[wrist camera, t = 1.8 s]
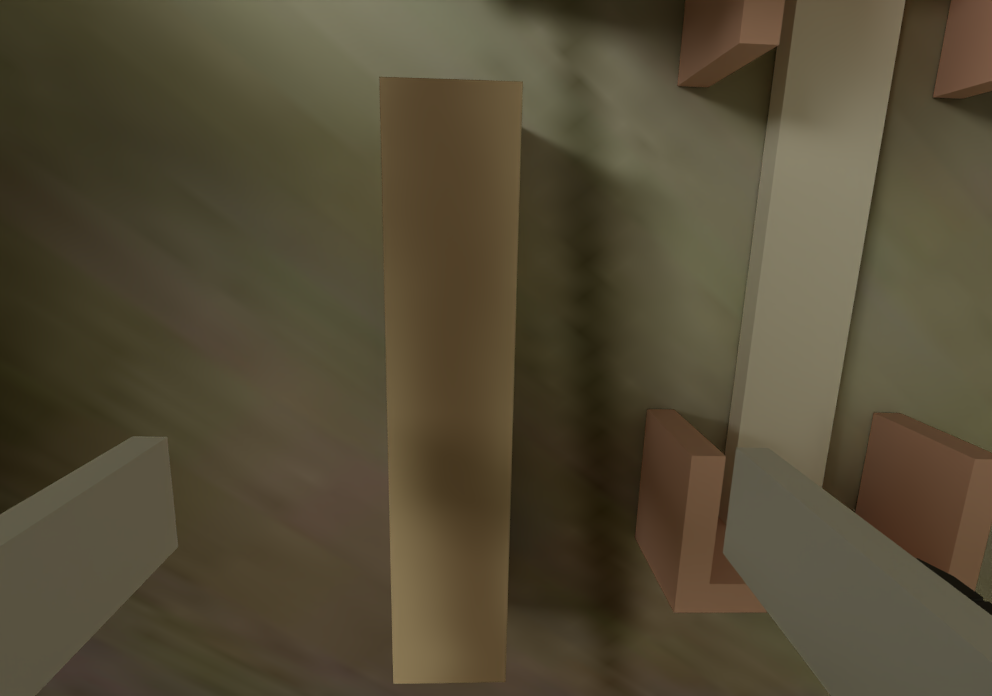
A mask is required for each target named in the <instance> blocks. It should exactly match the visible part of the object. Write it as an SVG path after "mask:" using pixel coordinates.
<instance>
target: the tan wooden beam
mask: <svg viewBox="0 0 992 696" xmlns="http://www.w3.org/2000/svg"><path fill="white" fill-rule="evenodd" d="M379 78H380V121H381V165H382V208H383V252H384V295H385V339H386V382H387V426H388V469H389V513H390V556H391V600H392V643H393V684H409V683H473V682H505V675H506V641H507V606H508V572H509V538H510V503H511V469H512V434H513V400H514V366H515V331H516V297H517V262H518V228H519V194H520V159H521V125H522V90H523V82H519V81H489V80H459V79H429V78H399V77H379Z"/></svg>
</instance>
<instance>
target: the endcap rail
mask: <svg viewBox="0 0 992 696" xmlns="http://www.w3.org/2000/svg"><path fill="white" fill-rule="evenodd" d="M904 6H905V0H685V10H684V20H683V31H682V42H681V52H680V63H679V73H678V84H677V86H687V87H710V86H711V85H713V84H715V83H716V82H718V81H720V80H721V79H723V78H725V77H726V76H728V75H730V74H731V73H733V72H735V71H736V70H738V69H740V68H741V67H743V66H745V65H746V64H748V63H750V62H751V61H753V60H755V59H756V58H758V57H760V56H762V55H763V54H765V53H767V52H768V51H770V50H772V49H773V48H775V47H777V50H776V58H775V66H774V74H773V81H772V89H771V97H770V105H769V113H768V120H767V128H766V136H765V144H764V151H763V159H762V167H761V175H760V183H759V190H758V198H757V206H756V214H755V222H754V229H753V237H752V245H751V253H750V261H749V268H748V276H747V284H746V292H745V300H744V307H743V315H742V323H741V331H740V339H739V346H738V354H737V362H736V370H735V378H734V385H733V393H732V401H731V409H730V417H729V424H728V432H727V440H726V448H725V455H724V454H723V453H722V452H721V451H720V450H719V449H717V448H716V447H715V446H714V445H713V444H712V443H711V442H710V441H709V440H707V439H706V438H705V437H704V436H703V435H702V434H701V433H700V432H699V431H698V430H696V429H695V428H694V427H693V426H692V425H691V424H690V423H689V422H688V421H686V420H685V419H684V418H683V417H682V416H681V415H680V414H679V413H678V412H676V411H675V410H674V409H647V414H646V424H645V435H644V446H643V456H642V467H641V477H640V488H639V499H638V509H637V520H636V531H635V539H636V541H637V543H638V545H639V547H640V549H641V551H642V552H643V554H644V556H645V558H646V560H647V562H648V564H649V566H650V568H651V570H652V572H653V574H654V575H655V577H656V579H657V581H658V583H659V585H660V587H661V589H662V591H663V593H664V595H665V596H666V598H667V600H668V602H669V604H670V606H671V608H672V610H673V612H674V613H768V612H767V611H766V610H765V608H764V607H763V606H762V604H761V603H760V602H759V600H758V599H757V598H756V596H755V595H754V594H753V592H752V591H751V590H750V588H749V587H748V586H747V584H746V583H745V582H744V580H743V579H742V578H741V576H740V575H739V574H738V572H737V571H736V570H735V569H734V567H733V566H732V565H731V563H730V562H729V561H728V559H727V558H726V557H725V555H724V554H723V547H724V539H725V531H726V524H727V516H728V508H729V500H730V493H731V485H732V477H733V469H734V462H735V454H736V447H746V448H769V449H770V450H772V451H773V452H774V453H776V454H777V455H778V456H780V457H781V458H782V459H784V460H785V461H786V462H788V463H789V464H790V465H792V466H793V467H794V468H796V469H797V470H798V471H800V472H801V473H802V474H804V475H805V476H806V477H808V478H809V479H810V480H812V481H813V482H814V483H816V484H817V485H818V486H820V487H821V488H822V485H823V479H824V473H825V467H826V461H827V455H828V450H829V444H830V438H831V432H832V426H833V420H834V415H835V409H836V403H837V397H838V391H839V385H840V380H841V374H842V368H843V362H844V356H845V350H846V345H847V339H848V333H849V327H850V321H851V315H852V310H853V304H854V298H855V292H856V286H857V280H858V275H859V269H860V263H861V257H862V251H863V245H864V239H865V234H866V228H867V222H868V216H869V210H870V204H871V199H872V193H873V187H874V181H875V175H876V169H877V164H878V158H879V152H880V146H881V140H882V134H883V129H884V123H885V117H886V111H887V105H888V99H889V94H890V88H891V82H892V76H893V70H894V64H895V59H896V53H897V47H898V41H899V35H900V29H901V23H902V18H903V12H904ZM990 91H992V0H951V3H950V9H949V14H948V19H947V25H946V30H945V35H944V41H943V46H942V51H941V57H940V62H939V67H938V73H937V78H936V83H935V89H934V94H933V97H934V98H956V99H963V98H967V97H971V96H974V95H978V94H982V93H986V92H990ZM855 513H856V514H857V515H858V516H860V517H861V518H862V519H864V520H865V521H866V522H868V523H869V524H870V525H872V526H873V527H874V528H876V529H877V530H878V531H880V532H881V533H882V534H884V535H885V536H886V537H888V538H889V539H890V540H892V541H893V542H894V543H896V544H897V545H898V546H900V547H901V548H902V549H904V550H905V551H906V552H908V553H909V554H910V555H912V556H913V557H914V558H918V559H920V560H922V561H924V562H926V563H928V564H930V565H932V566H934V567H936V568H938V569H940V570H942V571H944V572H946V573H948V574H950V575H952V576H954V577H956V578H957V579H958V580H960V581H961V582H962V583H964V584H965V585H967V586H968V587H969V588H971V589H972V590H973V591H975V589H976V585H977V581H978V577H979V573H980V568H981V564H982V560H983V556H984V552H985V548H986V544H987V540H988V536H989V532H990V528H991V524H992V453H991V452H989V451H986V450H984V449H982V448H979V447H977V446H975V445H972V444H970V443H968V442H966V441H963V440H961V439H959V438H956V437H954V436H952V435H949V434H947V433H945V432H943V431H940V430H938V429H936V428H933V427H931V426H929V425H926V424H924V423H922V422H919V421H917V420H915V419H913V418H910V417H908V416H906V415H903V414H901V413H874V414H873V420H872V425H871V430H870V436H869V441H868V446H867V452H866V457H865V462H864V468H863V473H862V478H861V484H860V489H859V494H858V500H857V505H856V510H855Z"/></svg>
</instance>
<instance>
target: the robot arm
mask: <svg viewBox="0 0 992 696" xmlns="http://www.w3.org/2000/svg"><path fill="white" fill-rule="evenodd" d="M177 547H178V540H177V530H176V520H175V510H174V500H173V490H172V480H171V470H170V460H169V450H168V440H167V437H139V436H133V437H131V438H129V439H127V440H126V441H124V442H122V443H121V444H119V445H117V446H116V447H114V448H112V449H110V450H109V451H107V452H105V453H104V454H102V455H100V456H99V457H97V458H95V459H93V460H92V461H90V462H88V463H87V464H85V465H83V466H82V467H80V468H78V469H76V470H75V471H73V472H71V473H70V474H68V475H66V476H65V477H63V478H61V479H59V480H58V481H56V482H54V483H53V484H51V485H49V486H48V487H46V488H44V489H42V490H41V491H39V492H37V493H36V494H34V495H32V496H31V497H29V498H27V499H25V500H24V501H22V502H20V503H19V504H17V505H15V506H14V507H12V508H10V509H8V510H7V511H5V512H3V513H2V514H0V696H35V695H36V694H37V693H38V692H39V691H40V690H41V689H42V688H43V687H44V686H45V685H46V684H47V683H48V682H49V681H50V680H51V679H52V677H53V676H54V675H55V674H56V673H57V672H58V671H59V670H60V669H61V668H62V667H63V666H64V665H65V664H66V663H67V662H68V661H69V660H70V659H71V658H72V657H73V656H74V655H75V654H76V652H77V651H78V650H79V649H80V648H81V647H82V646H83V645H84V644H85V643H86V642H87V641H88V640H89V639H90V638H91V637H92V636H93V635H94V634H95V633H96V632H97V631H98V630H99V629H100V627H101V626H102V625H103V624H104V623H105V622H106V621H107V620H108V619H109V618H110V617H111V616H112V615H113V614H114V613H115V612H116V611H117V610H118V609H119V608H120V607H121V606H122V605H123V604H124V602H125V601H126V600H127V599H128V598H129V597H130V596H131V595H132V594H133V593H134V592H135V591H136V590H137V589H138V588H139V587H140V586H141V585H142V584H143V583H144V582H145V581H146V580H147V579H148V578H149V576H150V575H151V574H152V573H153V572H154V571H155V570H156V569H157V568H158V567H159V566H160V565H161V564H162V563H163V562H164V561H165V560H166V559H167V558H168V557H169V556H170V555H171V554H172V553H173V551H174V550H175V549H176V548H177ZM723 554H724V555H725V557H726V558H727V559H728V561H729V562H730V563H731V565H732V566H733V567H734V569H735V570H736V571H737V572H738V574H739V575H740V576H741V578H742V579H743V580H744V582H745V583H746V584H747V586H748V587H749V588H750V590H751V591H752V592H753V594H754V595H755V596H756V598H757V599H758V600H759V602H760V603H761V604H762V606H763V607H764V608H765V610H766V611H767V612H768V614H769V615H770V616H771V618H772V619H773V620H774V622H775V623H776V624H777V625H778V627H779V628H780V629H781V631H782V632H783V633H784V635H785V636H786V637H787V639H788V640H789V641H790V643H791V644H792V645H793V647H794V648H795V649H796V651H797V652H798V653H799V655H800V656H801V657H802V659H803V660H804V661H805V663H806V664H807V665H808V667H809V668H810V669H811V671H812V672H813V673H814V674H815V676H816V677H817V678H818V680H819V681H820V682H821V684H822V685H823V686H824V688H825V689H826V690H827V692H828V693H829V694H830V696H992V604H991V603H990V602H984V601H983V597H982V596H980V595H979V594H978V593H976V592H975V591H973V590H972V589H971V588H969V587H968V586H967V585H965V584H964V583H962V582H961V581H960V580H958V579H957V578H956V577H954V576H952V575H950V574H948V573H946V572H944V571H942V570H940V569H938V568H936V567H934V566H932V565H930V564H928V563H926V562H924V561H922V560H920V559H918V558H914V557H913V556H912V555H910V554H909V553H908V552H906V551H905V550H904V549H902V548H901V547H900V546H898V545H897V544H896V543H894V542H893V541H892V540H890V539H889V538H888V537H886V536H885V535H884V534H882V533H881V532H880V531H878V530H877V529H876V528H874V527H873V526H872V525H870V524H869V523H868V522H866V521H865V520H864V519H862V518H861V517H860V516H858V515H857V514H856V513H854V512H853V511H852V510H850V509H849V508H848V507H846V506H845V505H844V504H842V503H841V502H840V501H838V500H837V499H836V498H834V497H833V496H832V495H830V494H829V493H828V492H826V491H825V490H824V489H822V488H821V487H820V486H818V485H817V484H816V483H814V482H813V481H812V480H810V479H809V478H808V477H806V476H805V475H804V474H802V473H801V472H800V471H798V470H797V469H796V468H794V467H793V466H792V465H790V464H789V463H788V462H786V461H785V460H784V459H782V458H781V457H780V456H778V455H777V454H776V453H774V452H773V451H772V450H770V449H769V448H746V447H736V454H735V462H734V469H733V477H732V485H731V493H730V500H729V508H728V516H727V524H726V531H725V539H724V547H723Z"/></svg>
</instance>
